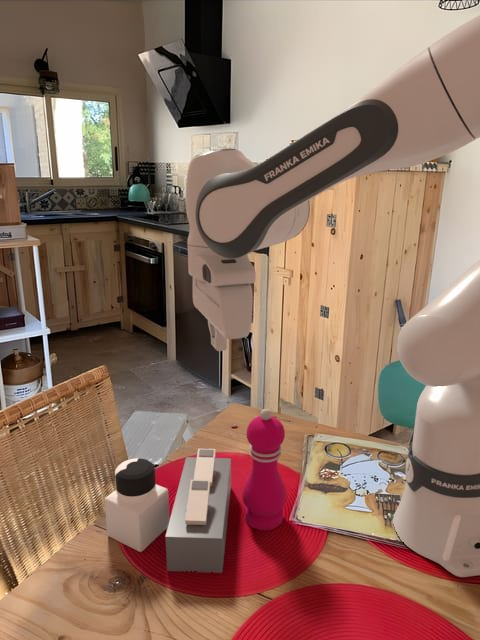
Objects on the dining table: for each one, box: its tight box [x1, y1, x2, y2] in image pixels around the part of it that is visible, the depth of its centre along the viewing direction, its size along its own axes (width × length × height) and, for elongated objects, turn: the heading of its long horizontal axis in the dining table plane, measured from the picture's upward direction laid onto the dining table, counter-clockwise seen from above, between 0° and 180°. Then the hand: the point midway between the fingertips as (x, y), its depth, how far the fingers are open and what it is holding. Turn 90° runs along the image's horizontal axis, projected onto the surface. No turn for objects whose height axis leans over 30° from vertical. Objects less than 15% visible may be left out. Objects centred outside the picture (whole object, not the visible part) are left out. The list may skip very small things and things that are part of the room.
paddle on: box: [185, 480, 210, 525], centre depth 75 cm, size 3×7×1 cm, turn 177°
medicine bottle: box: [104, 457, 170, 553], centre depth 78 cm, size 7×7×12 cm
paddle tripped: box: [194, 448, 216, 486], centre depth 83 cm, size 3×7×1 cm, turn 178°
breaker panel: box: [164, 456, 232, 574], centre depth 80 cm, size 8×20×7 cm, turn 178°
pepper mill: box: [242, 408, 287, 531], centre depth 80 cm, size 7×7×20 cm
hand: (218, 347), depth 80 cm, fingers closed
